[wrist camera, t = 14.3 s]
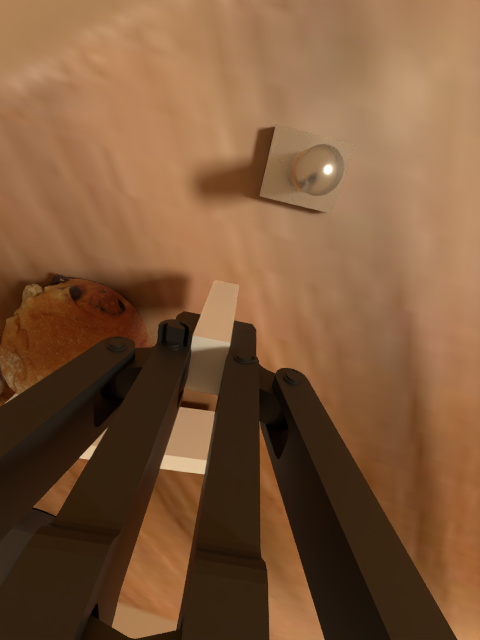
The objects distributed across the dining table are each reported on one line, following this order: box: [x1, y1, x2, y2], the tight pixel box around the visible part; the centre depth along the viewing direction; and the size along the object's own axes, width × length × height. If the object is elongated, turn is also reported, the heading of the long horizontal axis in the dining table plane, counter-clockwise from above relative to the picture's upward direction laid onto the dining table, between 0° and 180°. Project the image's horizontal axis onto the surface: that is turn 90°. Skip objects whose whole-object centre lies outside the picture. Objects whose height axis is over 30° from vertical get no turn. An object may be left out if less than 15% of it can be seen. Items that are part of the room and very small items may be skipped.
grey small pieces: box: [259, 124, 355, 214], centre depth 20 cm, size 4×26×5 cm, turn 167°
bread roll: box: [0, 274, 152, 395], centre depth 21 cm, size 10×10×8 cm
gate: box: [6, 394, 215, 474], centre depth 22 cm, size 2×17×5 cm, turn 83°
